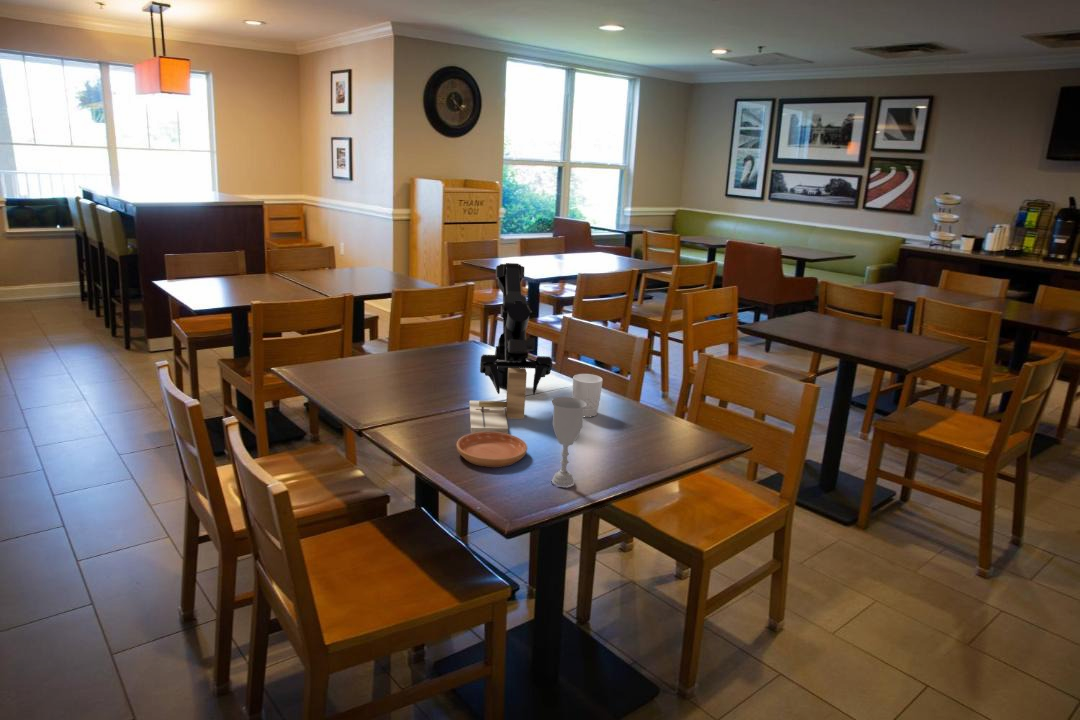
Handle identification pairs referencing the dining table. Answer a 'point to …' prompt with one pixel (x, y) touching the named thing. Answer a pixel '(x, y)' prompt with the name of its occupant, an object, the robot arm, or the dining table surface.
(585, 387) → the white cup
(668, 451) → the dining table surface
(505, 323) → the robot arm
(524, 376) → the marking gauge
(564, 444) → the chalice
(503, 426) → the birch board
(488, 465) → the saucer
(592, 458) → the dining table surface
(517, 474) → the dining table surface
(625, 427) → the dining table surface
